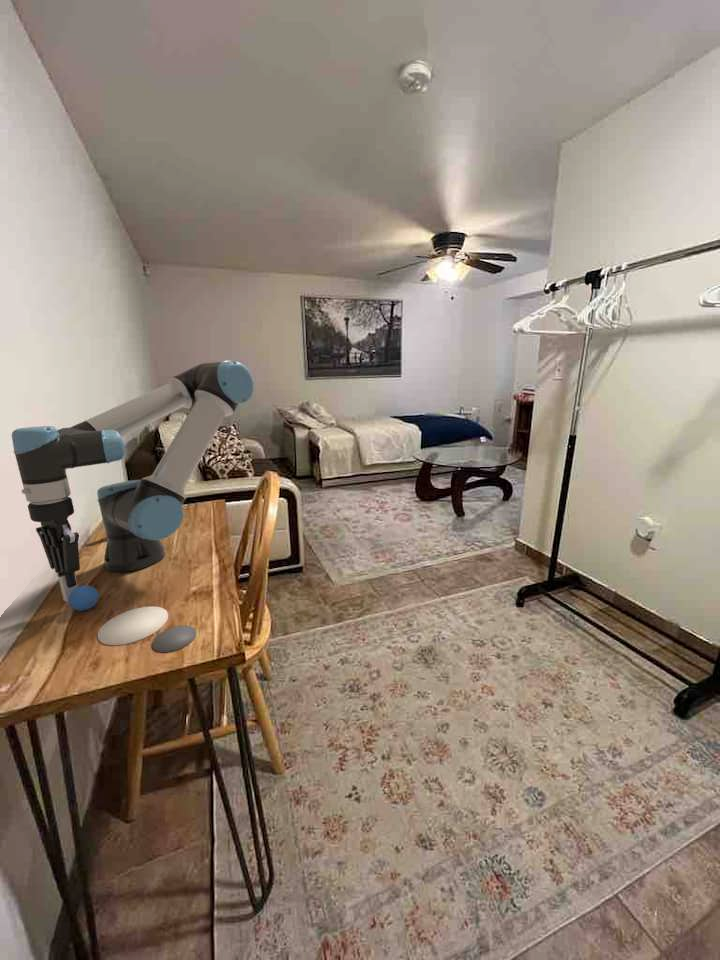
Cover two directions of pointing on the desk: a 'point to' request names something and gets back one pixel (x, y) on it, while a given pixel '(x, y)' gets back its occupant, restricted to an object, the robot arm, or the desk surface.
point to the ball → (83, 598)
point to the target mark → (132, 625)
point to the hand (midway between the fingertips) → (72, 598)
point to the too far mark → (174, 638)
